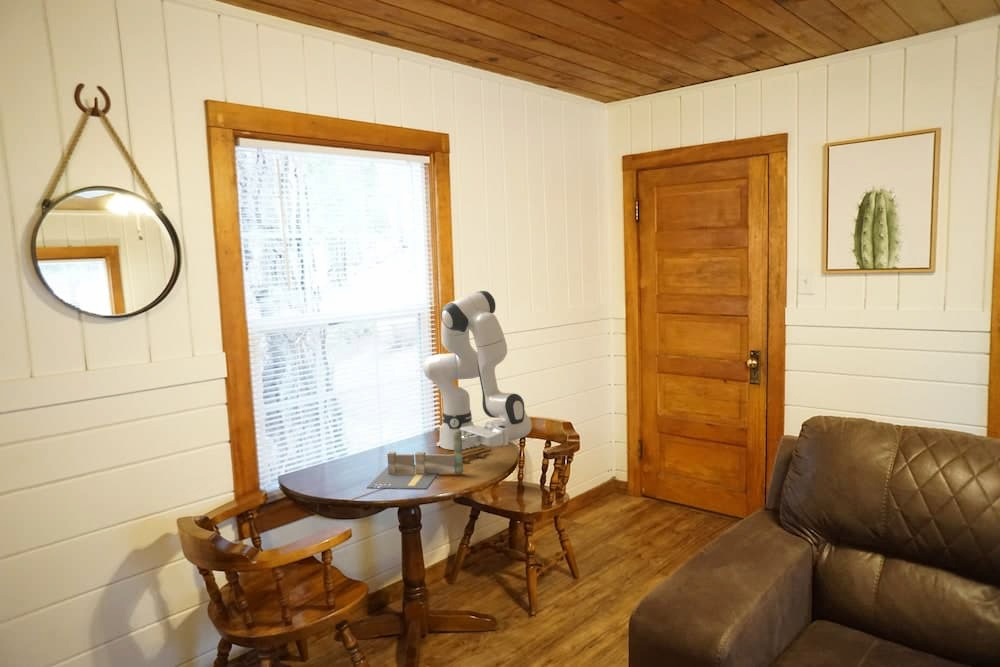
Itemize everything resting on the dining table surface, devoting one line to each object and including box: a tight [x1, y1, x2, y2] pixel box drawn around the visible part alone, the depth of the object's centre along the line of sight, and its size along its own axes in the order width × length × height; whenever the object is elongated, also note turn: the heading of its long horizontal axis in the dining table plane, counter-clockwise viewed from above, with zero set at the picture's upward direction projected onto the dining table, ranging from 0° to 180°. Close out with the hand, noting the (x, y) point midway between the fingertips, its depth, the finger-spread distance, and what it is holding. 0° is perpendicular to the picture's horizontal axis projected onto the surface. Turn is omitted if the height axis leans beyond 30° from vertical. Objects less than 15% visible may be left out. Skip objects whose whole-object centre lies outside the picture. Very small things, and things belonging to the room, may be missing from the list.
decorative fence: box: [462, 446, 492, 464], centre depth 258 cm, size 25×2×10 cm
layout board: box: [366, 464, 439, 490], centre depth 239 cm, size 26×21×1 cm
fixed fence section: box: [386, 451, 416, 474], centre depth 242 cm, size 2×9×8 cm, turn 82°
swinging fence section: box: [414, 430, 464, 475], centre depth 240 cm, size 3×17×15 cm, turn 82°
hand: (463, 439), depth 240 cm, fingers closed
